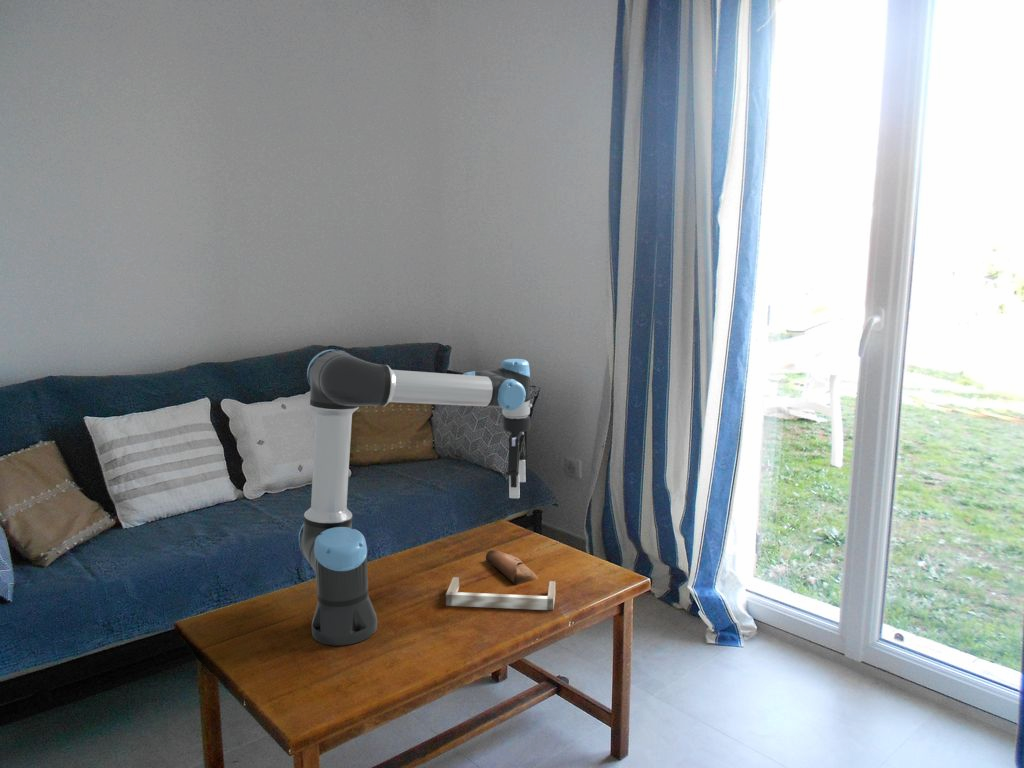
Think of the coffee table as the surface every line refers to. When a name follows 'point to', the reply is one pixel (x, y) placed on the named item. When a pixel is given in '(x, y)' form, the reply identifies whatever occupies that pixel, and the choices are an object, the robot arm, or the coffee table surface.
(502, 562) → the sunglasses case
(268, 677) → the coffee table surface
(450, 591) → the bracket
